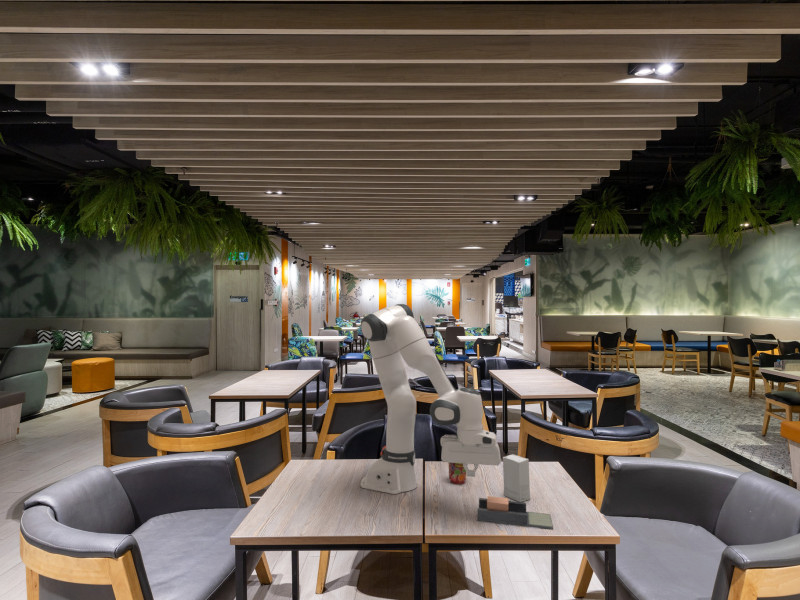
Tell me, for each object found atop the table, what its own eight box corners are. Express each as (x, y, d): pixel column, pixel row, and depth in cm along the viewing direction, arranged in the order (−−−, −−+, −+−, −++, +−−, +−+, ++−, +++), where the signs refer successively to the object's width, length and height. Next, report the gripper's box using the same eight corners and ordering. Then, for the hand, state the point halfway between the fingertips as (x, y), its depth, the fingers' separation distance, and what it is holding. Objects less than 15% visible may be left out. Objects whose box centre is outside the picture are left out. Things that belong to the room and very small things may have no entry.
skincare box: (530, 499, 170) (530, 459, 170) (519, 503, 166) (519, 462, 167) (513, 491, 177) (513, 453, 177) (502, 495, 173) (502, 455, 174)
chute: (477, 520, 152) (477, 509, 152) (479, 508, 162) (479, 497, 162) (553, 529, 147) (553, 518, 147) (550, 515, 156) (550, 505, 156)
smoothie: (454, 486, 181) (455, 436, 181) (443, 479, 188) (443, 430, 188) (471, 483, 185) (472, 433, 185) (460, 476, 192) (460, 428, 192)
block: (486, 515, 154) (487, 501, 154) (487, 509, 159) (487, 496, 159) (508, 517, 152) (508, 504, 152) (508, 511, 157) (508, 498, 157)
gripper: (438, 436, 157) (439, 477, 157) (499, 439, 152) (500, 481, 152) (441, 431, 163) (442, 470, 163) (500, 434, 158) (501, 474, 158)
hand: (471, 476), depth 157 cm, fingers closed
